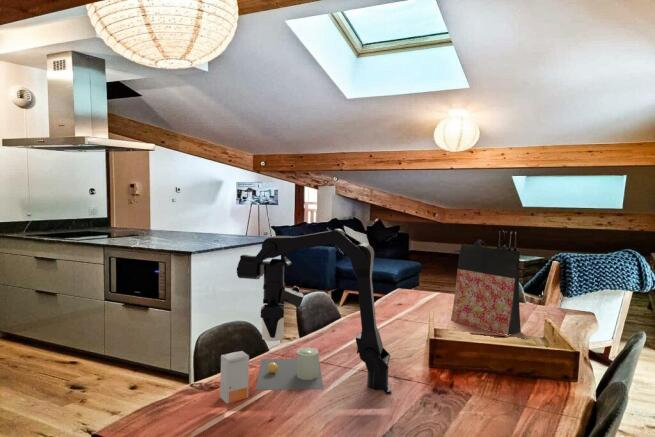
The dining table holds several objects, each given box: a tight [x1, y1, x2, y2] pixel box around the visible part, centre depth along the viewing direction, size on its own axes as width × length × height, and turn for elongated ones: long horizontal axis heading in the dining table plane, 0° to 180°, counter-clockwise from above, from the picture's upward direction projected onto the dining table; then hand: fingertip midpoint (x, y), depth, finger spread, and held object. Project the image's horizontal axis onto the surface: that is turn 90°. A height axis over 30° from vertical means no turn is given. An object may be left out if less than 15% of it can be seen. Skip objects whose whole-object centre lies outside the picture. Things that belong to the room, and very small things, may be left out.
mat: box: [255, 358, 324, 391], centre depth 131 cm, size 22×18×1 cm
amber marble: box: [267, 362, 278, 373], centre depth 130 cm, size 3×3×3 cm
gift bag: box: [450, 239, 522, 335], centre depth 186 cm, size 29×14×35 cm, turn 39°
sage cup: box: [296, 347, 320, 380], centre depth 129 cm, size 6×6×7 cm
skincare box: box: [219, 350, 250, 404], centre depth 114 cm, size 6×4×12 cm
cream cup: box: [261, 317, 285, 342], centre depth 129 cm, size 6×6×7 cm
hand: (273, 334), depth 130 cm, fingers closed on cream cup, 6 cm apart
